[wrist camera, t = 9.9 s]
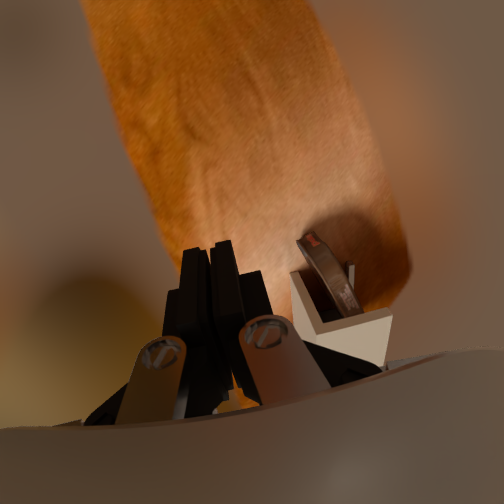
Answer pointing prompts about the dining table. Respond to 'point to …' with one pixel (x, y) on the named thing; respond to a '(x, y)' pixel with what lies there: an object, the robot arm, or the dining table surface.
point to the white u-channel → (340, 324)
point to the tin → (330, 275)
